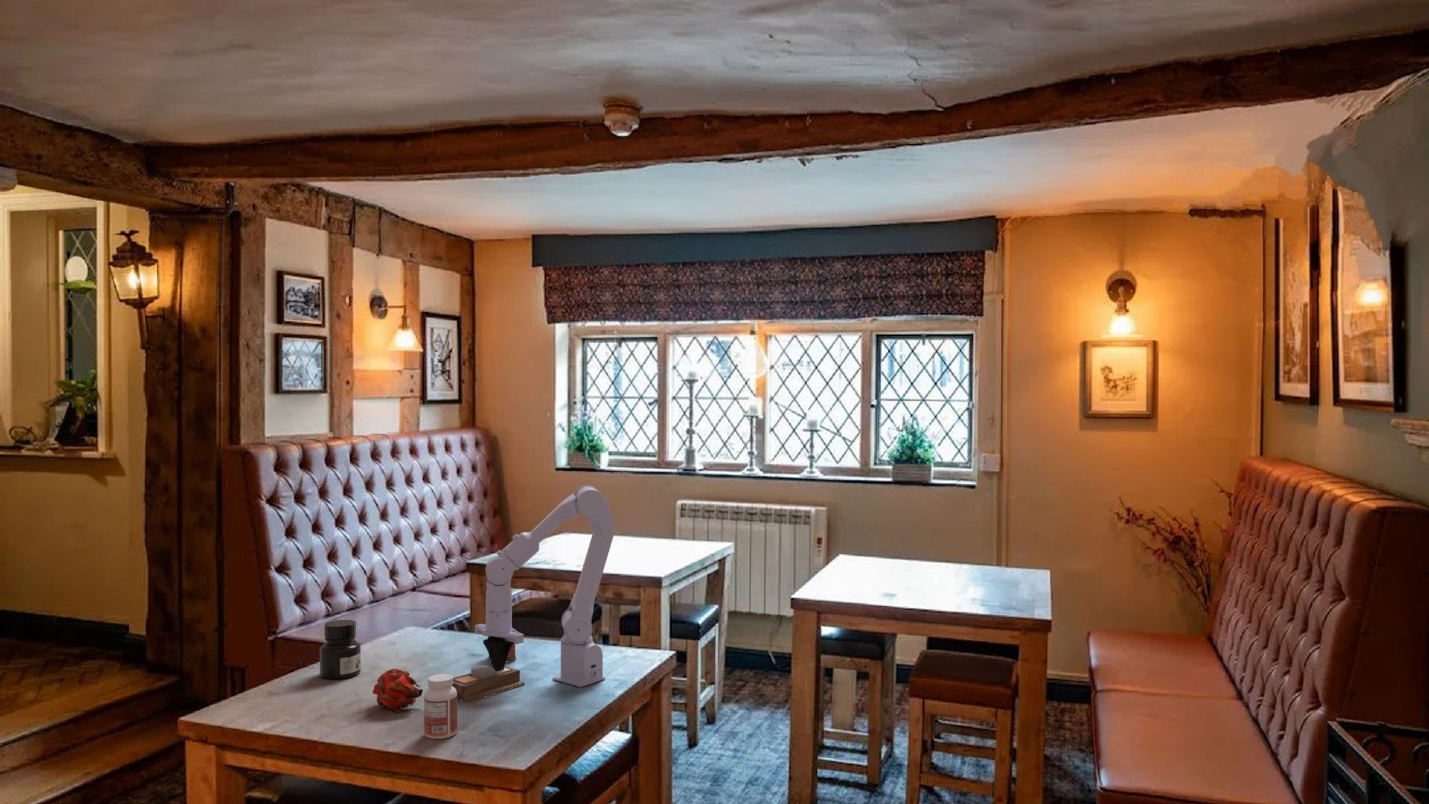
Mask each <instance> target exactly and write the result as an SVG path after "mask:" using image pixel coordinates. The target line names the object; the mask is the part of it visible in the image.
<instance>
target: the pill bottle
mask: <svg viewBox="0 0 1429 804" xmlns="http://www.w3.org/2000/svg"><path fill="white" fill-rule="evenodd" d="M453 678H454V676H453V675H452V674H449V673H441V674H440V673H439V674H434V675H430V676H429V677H428V679H427V686H428V687H429V688H427V689H426V690H425V692H424V694H423V704H424V705H423V707H424V708H423V712H424V713H423V716H424V717H423V718H424V719H423V720H424V721H423V723H424V724H423V726H424V728H423V729H424V730H423V732H424V735H425V737H426V738H428V739H432V740H443V739H444V740H445V739H448V738H451V737H453V736H454V735H456V734H457V732H458V698H457V691H456V689H455V688H454V687H453V686H452V685H453Z"/></svg>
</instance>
